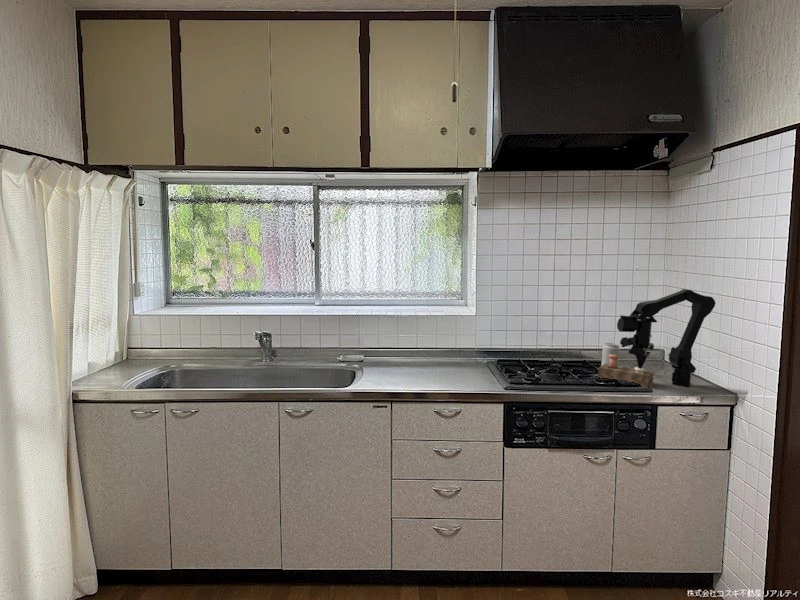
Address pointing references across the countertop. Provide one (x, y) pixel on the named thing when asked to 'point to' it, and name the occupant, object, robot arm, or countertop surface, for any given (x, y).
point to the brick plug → (613, 361)
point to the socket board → (626, 375)
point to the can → (609, 352)
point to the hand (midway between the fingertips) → (640, 368)
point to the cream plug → (639, 370)
